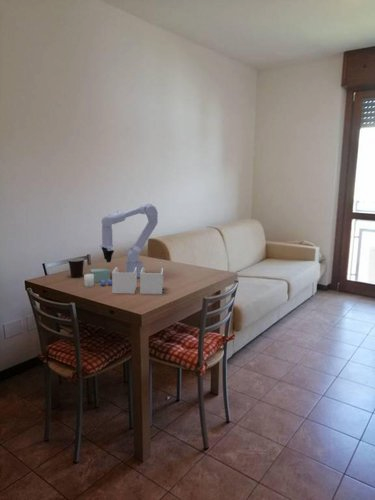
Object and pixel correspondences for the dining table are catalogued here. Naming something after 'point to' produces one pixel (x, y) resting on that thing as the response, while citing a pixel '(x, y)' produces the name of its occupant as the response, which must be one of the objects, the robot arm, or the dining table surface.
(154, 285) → the storage container
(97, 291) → the dining table surface
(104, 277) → the green tapered block
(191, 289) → the dining table surface
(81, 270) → the coffee mug
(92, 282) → the white domed capsule
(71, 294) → the dining table surface
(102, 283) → the marble
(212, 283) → the dining table surface
